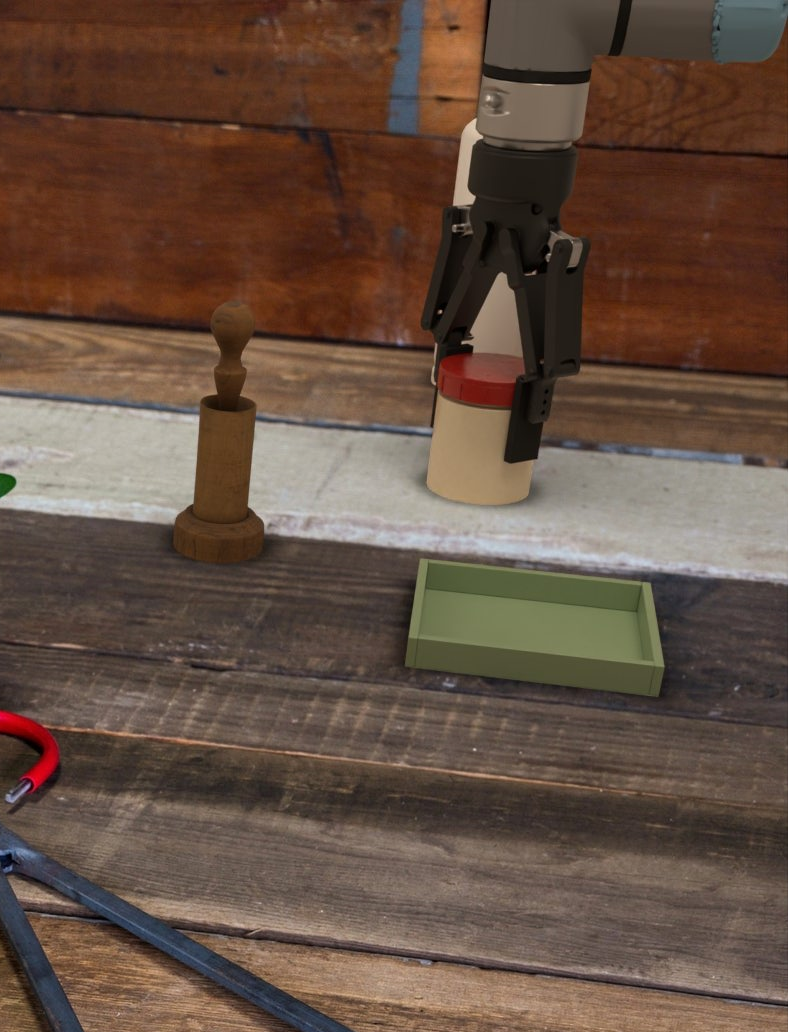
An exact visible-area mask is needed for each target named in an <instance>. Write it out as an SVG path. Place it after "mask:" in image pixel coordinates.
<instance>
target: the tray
mask: <svg viewBox="0 0 788 1032" xmlns="http://www.w3.org/2000/svg"><path fill="white" fill-rule="evenodd" d="M417 568H418V570H417V578H416V582H415V588H414V598H413V604H412V609H411V615H410V617H411V618H410V624H409V631H408V637H407V645H406V652H405V653H406V654H405V659H404V660H405V661H404V667H406V668H412V669H413V668H414V669H420V670H421V669H423V670H429V671H438V672H448V673H454V674H464V675H473V676H481V677H489V678H497V679H506V680H513V681H523V682H531V683H539V684H548V685H556V686H563V687H564V686H565V687H572V688H582V689H588V690H589V689H590V690H599V691H607V692H615V693H622V694H623V693H624V694H633V695H640V696H649V697H657V698H658V697H659V695H660V692H661V687H662V682H663V677H664V674H665V668H666V665H665V661H664V655H663V649H662V643H661V636H660V631H659V625H658V624H659V623H658V617H657V612H656V607H655V600H654V594H653V589H652V583H651V582H648V581H647V582H646V581H636V580H628V579H618V578H609V577H599V576H592V575H591V576H590V575H580V574H572V573H561V572H554V571H553V572H552V571H544V570H536V569H535V570H534V569H525V568H516V567H505V566H497V565H486V564H479V563H478V564H477V563H467V562H460V561H450V560H449V561H448V560H441V559H431V558H429V559H428V558H421V557H420V559H419V561H418V567H417Z"/></svg>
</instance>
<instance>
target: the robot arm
mask: <svg viewBox="0 0 788 1032" xmlns="http://www.w3.org/2000/svg"><path fill="white" fill-rule="evenodd" d="M488 17H489V18H488V26H487V33H486V42H485V50H484V59H483V67H482V75H481V83H480V91H479V97H478V105H477V114H476V118H477V119H476V127H475V129H476V131H477V132H478V133H479V134H480V135H482V136H483V139H479V140H477V141H476V144H474V145H473V146H472V153H471V161H470V169H469V176H468V184H467V187H468V190H469V192H470V193H471V194H472V195H474V196H476V197H475V200H474V202H473V204H468V205H457V206H453V205H448V206H445V207H444V208H443V209H442V213H441V238H440V242H439V246H438V249H437V250H438V251H437V254H436V257H435V262H434V266H433V270H432V274H431V278H430V282H429V286H428V290H427V294H426V297H425V303H424V306H423V310H422V313H421V317H420V327H421V329H422V330H423V331H425V332H427V331H428V332H430V333H431V334H432V335H433V340H434V342H435V343H437V352H436V360H435V362H436V363H435V362H434V365H435V368H434V382H436V386H435V387H434V388H435V389H434V396H433V403H432V410H431V419H430V425H429V427H430V428H432V429H433V425H434V417H435V409H436V401H437V393H438V387H437V376H438V368H439V367H440V362H441V361H442V360H443V359H444V358H446V357H449V356H452V355H456V354H463V353H473V348H474V346H473V345H470V344H461V343H462V341H469V340H472V339H473V338H474V337H471V336H472V334H471V333H470V331H471V329H472V327H473V325H474V323H475V320H476V318H477V316H478V314H479V312H480V310H481V308H482V306H483V304H484V302H485V300H486V298H487V296H488V294H489V292H490V290H491V288H492V286H493V283H494V281H495V279H496V277H497V275H498V274H499V273H501V272H503V273H504V274H506V275H507V282H508V286H509V288H511V289H512V290H513V291H514V294H515V301H516V308H517V316H518V323H519V330H520V337H521V345H522V352H523V359H524V366H525V374H523V375H518V377H517V378H516V383H515V390H514V396H513V403H512V409H511V416H510V422H509V429H508V436H507V442H506V449H505V455H504V461H505V462H507V463H509V464H513V463H518V462H524V461H530V460H534V461H535V460H538V458H539V453H540V447H541V442H542V441H541V440H542V434H543V428H544V423H545V422H548V420H549V418H550V415H551V408H552V402H553V397H554V391H555V386H556V383H557V381H558V379H561V378H568V377H575V376H577V375H579V374H580V371H581V361H582V359H581V358H582V330H583V328H582V327H583V303H584V302H583V301H584V280H585V279H584V278H585V277H584V275H585V269H586V265H587V262H588V258H589V254H590V251H591V247H592V245H591V243H592V242H591V240H590V239H589V237H587V236H579V237H573V236H572V235H570V234H568V233H566V232H565V231H563V225H562V218H561V210H562V207H563V205H564V204H565V203H566V202H567V200H569V199H570V198H571V197H572V195H573V192H574V186H575V180H576V179H575V178H576V172H577V165H578V160H579V154H580V152H579V151H578V149H577V147H576V146H575V145H574V144H573V142H575V141H578V140H580V138H581V137H583V133H584V132H583V131H584V125H585V118H586V110H587V104H588V97H589V89H590V83H591V78H592V71H593V69H592V66H593V63H594V59H595V57H596V56H607V57H620V56H622V57H637V58H650V59H664V60H665V59H666V60H682V61H698V62H714V63H716V64H717V65H721V66H723V65H726V64H728V63H760V62H764V61H766V60H768V59H769V58H771V57H772V56H773V54H774V53H775V52H776V51H777V49H778V47H779V45H780V42H781V39H782V36H783V34H784V32H785V27H786V23H787V20H788V0H490V7H489V16H488ZM535 270H536V273H535V274H534V275H525V274H532V272H534V271H535ZM440 310H442V313H439V311H440ZM542 359H543V362H542V363H541V360H542Z"/></svg>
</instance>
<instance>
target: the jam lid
mask: <svg viewBox="0 0 788 1032" xmlns="http://www.w3.org/2000/svg"><path fill="white" fill-rule="evenodd" d="M523 374H525V366H524V359H523V358H522V357H518V356H513V355H506V354H498V353H463V354H456V355H452V356H449V357H446V358H444V359H443V360H442V361H441V362H440V367H439V368H438V376H437V387H438V389H439V390H440V391H441V392H442V393H444V394H445V395H447V396H450V397H452V398H455V399H458V400H462V401H465V402H470V403H476V404H483V405H492V406H512V403H513V396H514V390H515V383H516V378H517V377H518V375H523Z"/></svg>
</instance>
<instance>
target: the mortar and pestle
mask: <svg viewBox="0 0 788 1032" xmlns="http://www.w3.org/2000/svg"><path fill="white" fill-rule="evenodd" d="M255 330H256V318H255V314H254V312H253V310H252V309H251V307H250V306H249V305H247V304H246V303H244V302H241V301H226V302H224V303H222V304H220V305H218V307H216V308H215V310H214V312H213V313H212V316H211V319H210V331H211V333H212V336H213V339H214V341H215V342H216V344H217V346H218V348H219V351H220V358H219V362H218V364H217V365H215V366H214V368H213V378H214V383H215V384H214V385H215V389H216V393H217V394H209V395H205V396H203V397H202V398H200V401H199V416H198V417H199V418H198V433H197V435H198V436H197V451H196V463H195V464H196V465H195V476H194V488H193V489H194V492H193V502H192V504H190V505H188V506H187V507H186V508H184V509H183V510H182V511H180V512H179V513H178V514H177V515H176V516H175V519H174V528H173V529H174V530H173V541H172V546H173V548H174V549H175V550H176V551H177V553H179V554H181V555H183V556H184V557H187V558H190V559H191V560H192V559H193V560H195V561H200V562H206V563H214V564H215V563H216V564H231V563H241V562H245V561H248V560H251V559H253V558H255V557H257V556H258V555H260V554H261V553H262V552H263V550H264V539H265V523H264V520H263V519H262V518H261V517H260V516H258V515H257V514H256V512H255V511H254V510H253V509H252V508H251V507H249V497H250V487H251V486H250V485H251V473H252V463H253V453H254V452H253V451H254V441H255V431H256V418H257V408H258V405H257V403H256V402H255V401H254V400H252V399H251V398H248V397H246V396H242V395H241V394H242V391H243V388H244V385H245V382H246V379H247V375H248V374H247V373H248V369H247V368H246V367H245V366H243V364H242V355H243V352H244V350H245V348H246V347H247V345H248V343H249V342H250V340H251V339H252V337H253V335H254V333H255Z"/></svg>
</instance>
